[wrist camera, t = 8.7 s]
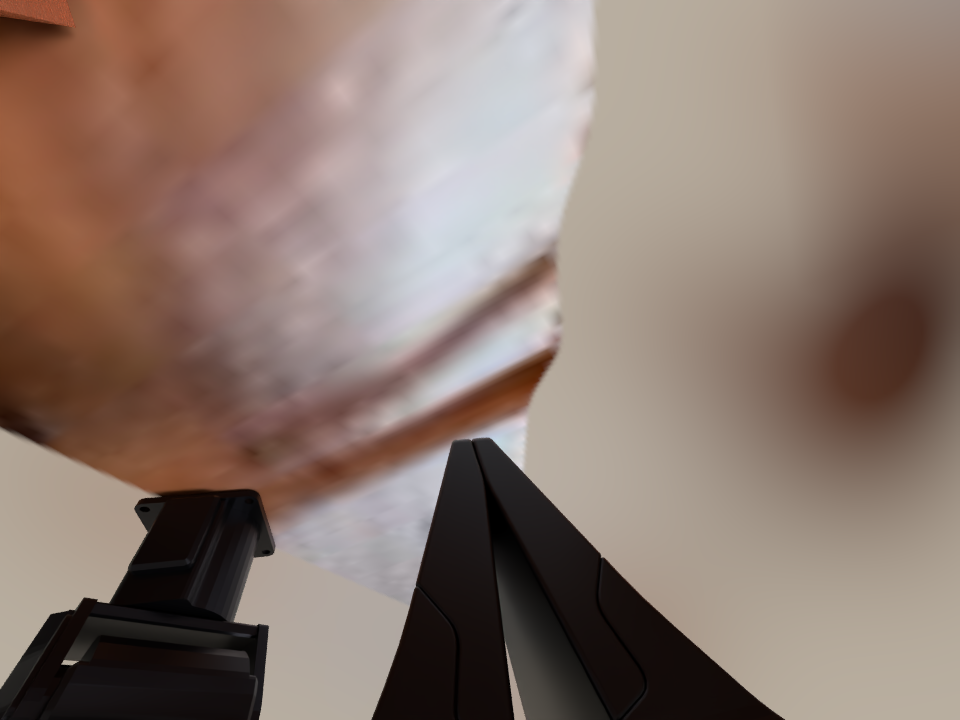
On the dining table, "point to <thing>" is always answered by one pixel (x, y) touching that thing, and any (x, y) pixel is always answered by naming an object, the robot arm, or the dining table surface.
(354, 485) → the dining table surface
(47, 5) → the shaft
